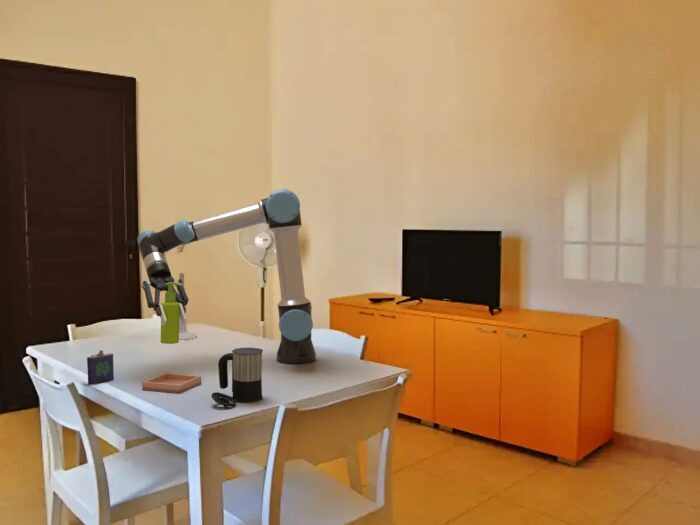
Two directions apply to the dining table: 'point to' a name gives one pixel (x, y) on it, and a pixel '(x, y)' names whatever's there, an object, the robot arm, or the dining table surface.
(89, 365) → the flask
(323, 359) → the dining table surface
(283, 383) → the dining table surface
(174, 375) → the holder dish
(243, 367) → the milk frother
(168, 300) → the soap dispenser
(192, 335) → the candlestick
